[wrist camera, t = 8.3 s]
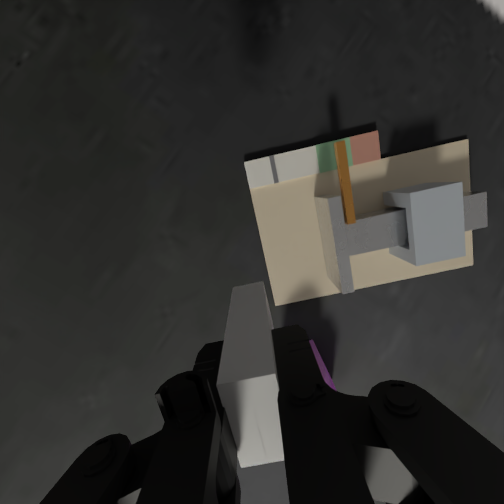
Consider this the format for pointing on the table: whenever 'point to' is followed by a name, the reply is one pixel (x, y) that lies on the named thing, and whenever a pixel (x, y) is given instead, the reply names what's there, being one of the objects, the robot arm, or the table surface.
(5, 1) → the table surface
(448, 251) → the beige mechanism board
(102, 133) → the table surface
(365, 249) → the grey sliding clamp
